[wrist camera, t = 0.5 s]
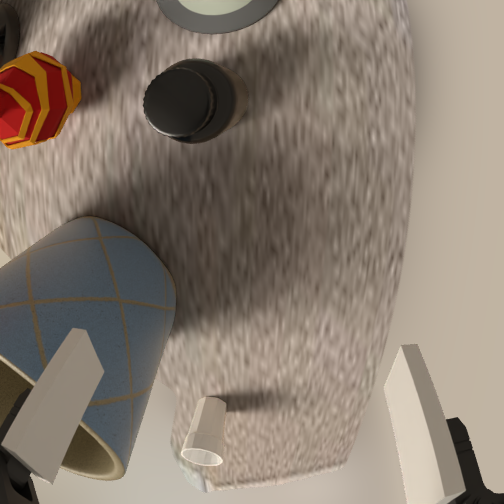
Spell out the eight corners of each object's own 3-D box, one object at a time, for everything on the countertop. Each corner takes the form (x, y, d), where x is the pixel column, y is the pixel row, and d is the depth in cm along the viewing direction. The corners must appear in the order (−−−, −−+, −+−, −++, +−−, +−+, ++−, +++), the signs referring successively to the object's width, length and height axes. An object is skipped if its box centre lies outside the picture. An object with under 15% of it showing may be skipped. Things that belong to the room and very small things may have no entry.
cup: (187, 395, 51) (172, 448, 41) (221, 391, 49) (211, 447, 39) (204, 416, 53) (193, 465, 44) (237, 412, 52) (229, 465, 42)
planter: (141, 366, 48) (91, 488, 27) (32, 284, 43) (-53, 382, 22) (221, 282, 39) (169, 462, 18) (75, 171, 33) (-78, 268, 13)
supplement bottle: (217, 53, 27) (181, 31, 16) (263, 101, 29) (253, 103, 18) (168, 99, 29) (111, 105, 19) (212, 145, 31) (176, 173, 21)
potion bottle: (110, 59, 27) (14, 54, 14) (87, 145, 32) (-4, 185, 19) (45, 48, 26) (-48, 51, 13) (27, 126, 31) (-61, 157, 18)
